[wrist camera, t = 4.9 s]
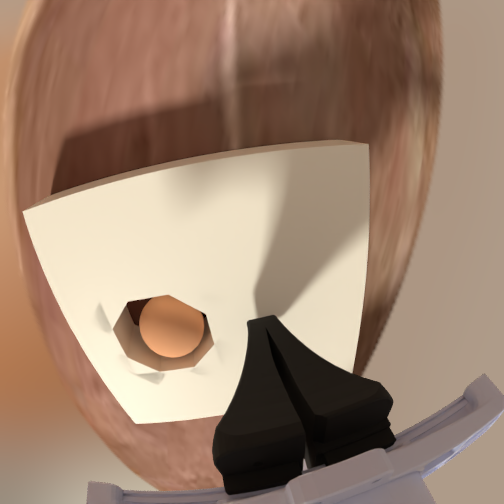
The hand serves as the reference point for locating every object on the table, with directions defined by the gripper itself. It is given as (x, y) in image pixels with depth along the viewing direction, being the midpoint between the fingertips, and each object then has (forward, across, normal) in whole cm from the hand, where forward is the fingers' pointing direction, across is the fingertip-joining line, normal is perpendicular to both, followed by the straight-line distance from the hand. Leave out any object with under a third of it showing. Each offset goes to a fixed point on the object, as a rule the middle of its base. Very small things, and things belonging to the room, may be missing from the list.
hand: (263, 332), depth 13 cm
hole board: (+4, +2, 0) cm, 4 cm away
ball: (+2, +5, 0) cm, 5 cm away
